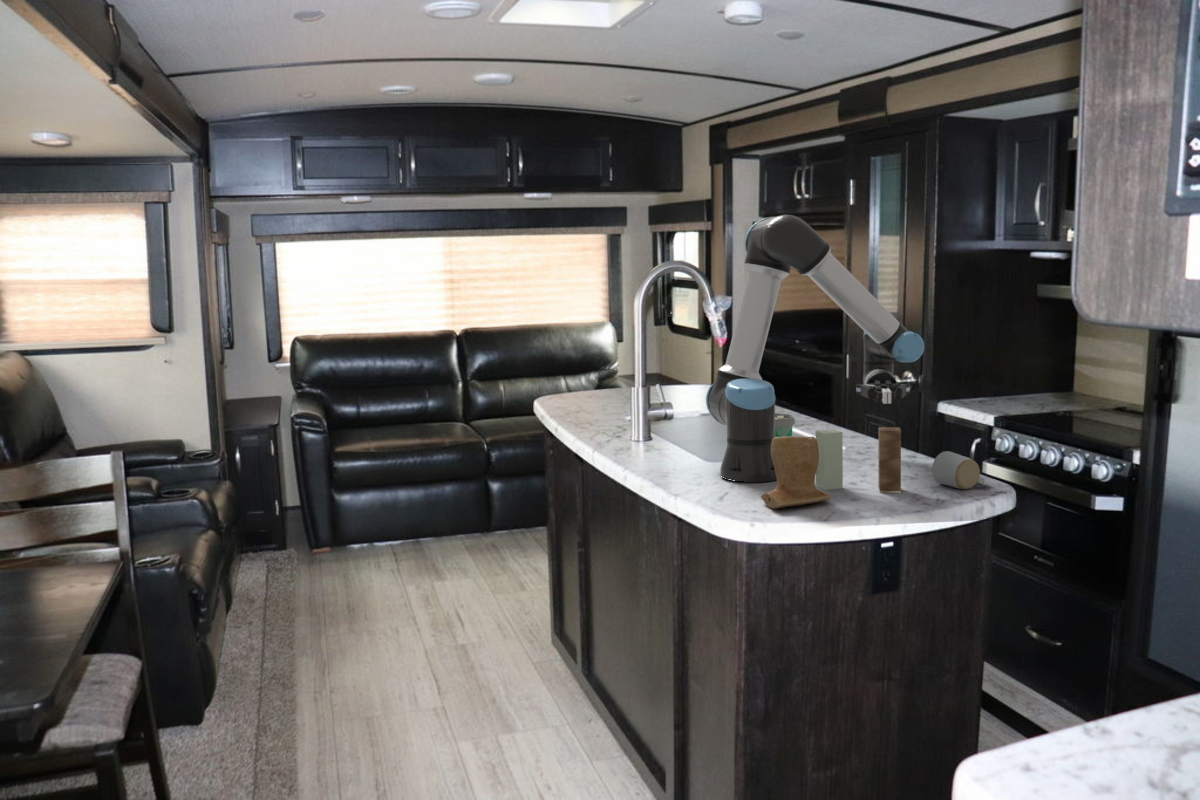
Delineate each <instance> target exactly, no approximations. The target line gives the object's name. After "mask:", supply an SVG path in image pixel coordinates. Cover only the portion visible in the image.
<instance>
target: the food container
mask: <svg viewBox="0 0 1200 800" xmlns="http://www.w3.org/2000/svg"><path fill="white" fill-rule="evenodd" d="M795 421H796V420H795V418H794V415H793V414H789V413H780V412H778V413H777V412H775V437H791V436H793V425H795V424H796V422H795Z"/></svg>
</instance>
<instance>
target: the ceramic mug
mask: <svg viewBox="0 0 1200 800" xmlns="http://www.w3.org/2000/svg"><path fill="white" fill-rule="evenodd" d="M931 474H932V477H933V479H934V480H935V482H936V483H938V484H941V485H944V486H946V487H947V486H948V487H952V488H955V489H959V490H969V489H971V488H973V487H975V485H976V484H977V485H980V486H983V484H984V482H985V478H984V477H981V476H980V475H981V470H980V466H979V464H978V463H977V462H976V461H975V460H974V459H972V458H970V457H967V456H963V455H962V454H959V453H956V452H953V451H948V450H947V451H946V450H945V451H941V452H940V453H939V454H937V456H936V457H935V458H934V460H933V462H932V465H931Z"/></svg>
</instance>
